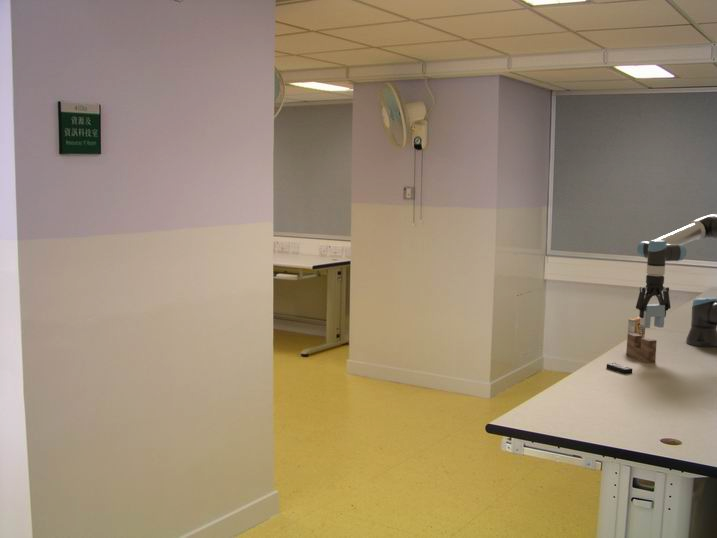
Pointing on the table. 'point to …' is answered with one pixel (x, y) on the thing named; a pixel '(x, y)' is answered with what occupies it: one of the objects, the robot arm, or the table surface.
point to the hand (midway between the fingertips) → (652, 324)
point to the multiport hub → (619, 368)
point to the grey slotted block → (654, 315)
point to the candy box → (635, 327)
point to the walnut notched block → (641, 348)
